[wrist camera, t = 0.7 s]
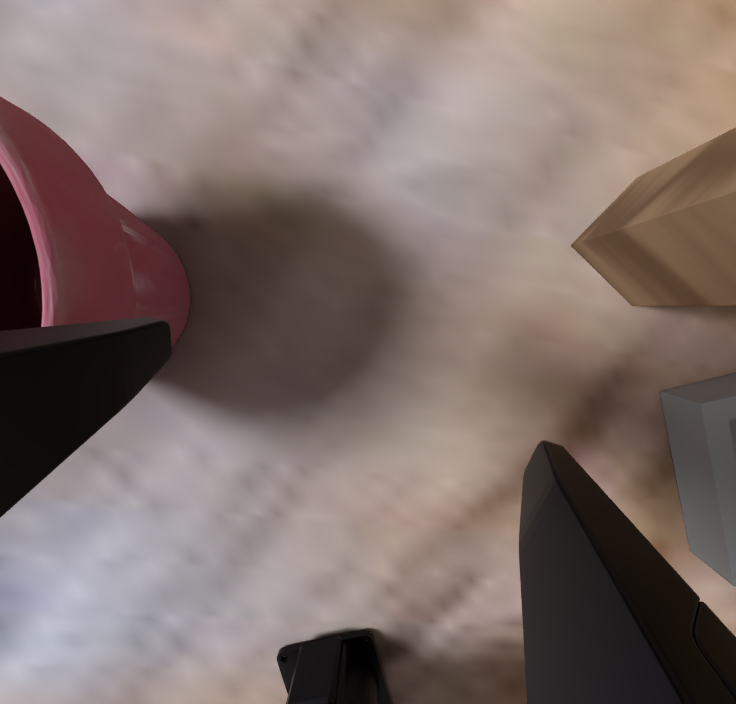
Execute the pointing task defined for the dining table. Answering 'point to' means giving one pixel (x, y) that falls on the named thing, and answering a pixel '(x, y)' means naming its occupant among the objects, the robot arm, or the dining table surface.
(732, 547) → the holder box
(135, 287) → the plant pot
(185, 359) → the dining table surface
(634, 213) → the walnut block
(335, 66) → the dining table surface
